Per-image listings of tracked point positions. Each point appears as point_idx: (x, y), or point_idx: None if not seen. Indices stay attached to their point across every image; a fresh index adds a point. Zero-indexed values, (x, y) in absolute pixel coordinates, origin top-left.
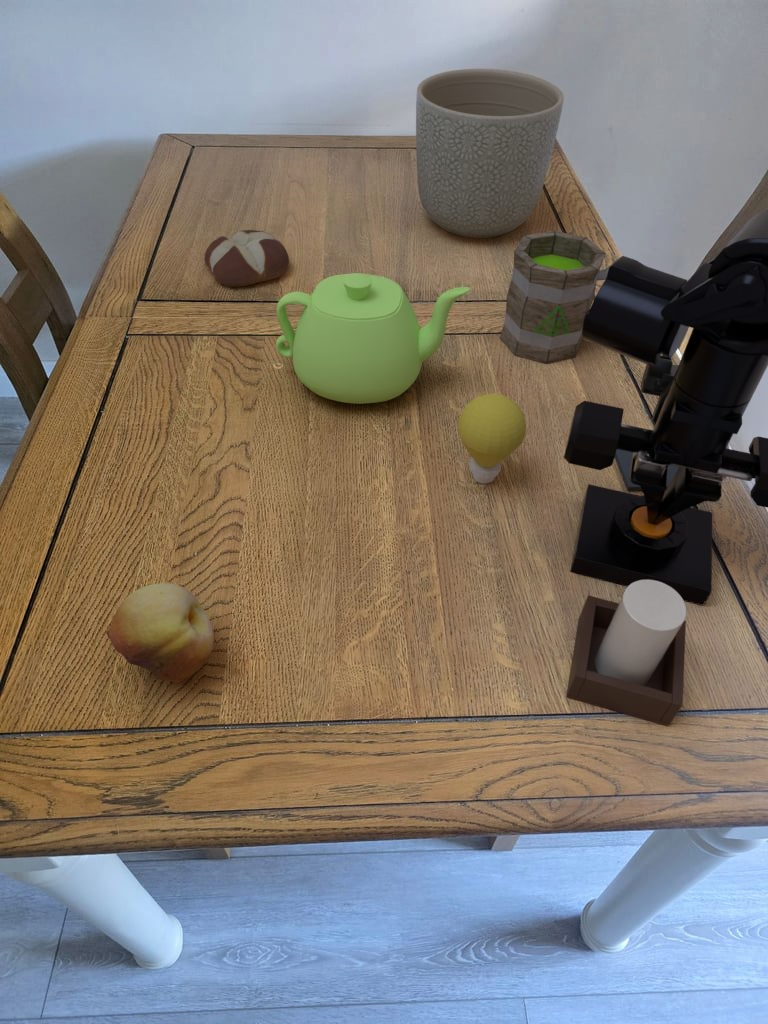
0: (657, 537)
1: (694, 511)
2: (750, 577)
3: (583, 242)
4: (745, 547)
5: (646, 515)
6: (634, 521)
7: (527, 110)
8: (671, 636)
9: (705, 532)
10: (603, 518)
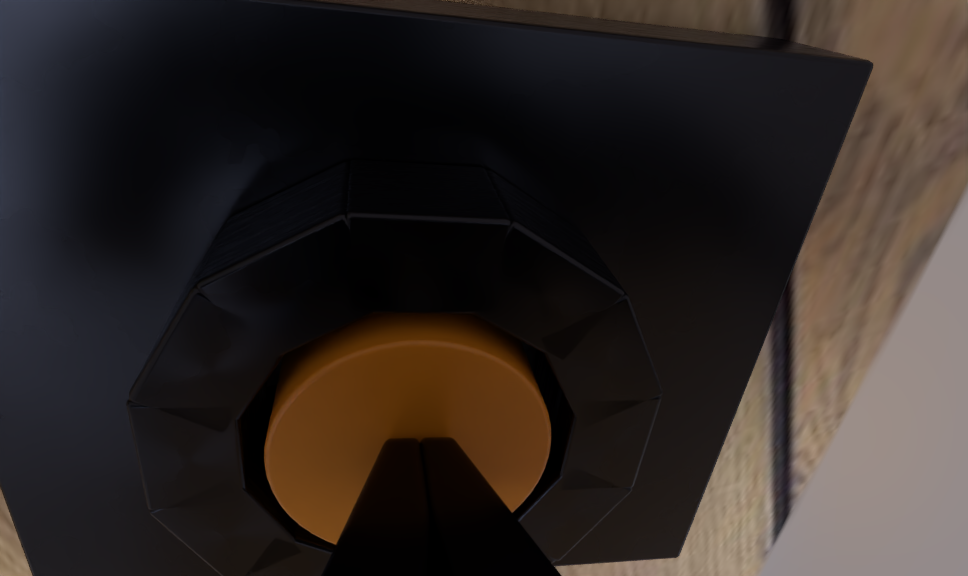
0: None
1: (752, 88)
2: (870, 310)
3: None
4: (936, 140)
5: (371, 434)
6: (288, 501)
7: None
8: None
9: (762, 259)
10: (106, 325)
